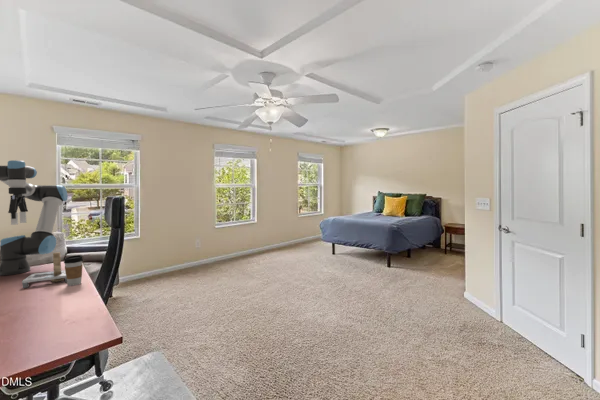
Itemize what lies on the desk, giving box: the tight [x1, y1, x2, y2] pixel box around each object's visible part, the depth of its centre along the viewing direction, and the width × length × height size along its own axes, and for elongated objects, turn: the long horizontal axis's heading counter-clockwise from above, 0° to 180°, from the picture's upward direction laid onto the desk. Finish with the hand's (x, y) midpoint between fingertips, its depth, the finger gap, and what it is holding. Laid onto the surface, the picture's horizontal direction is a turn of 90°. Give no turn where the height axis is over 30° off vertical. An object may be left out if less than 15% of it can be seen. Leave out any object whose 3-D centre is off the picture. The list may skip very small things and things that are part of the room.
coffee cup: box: [63, 254, 84, 287], centre depth 160 cm, size 8×8×15 cm
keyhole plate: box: [21, 269, 67, 289], centre depth 166 cm, size 16×20×4 cm
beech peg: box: [51, 251, 65, 283], centre depth 168 cm, size 6×6×16 cm
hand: (19, 223), depth 172 cm, fingers open, 13 cm apart
